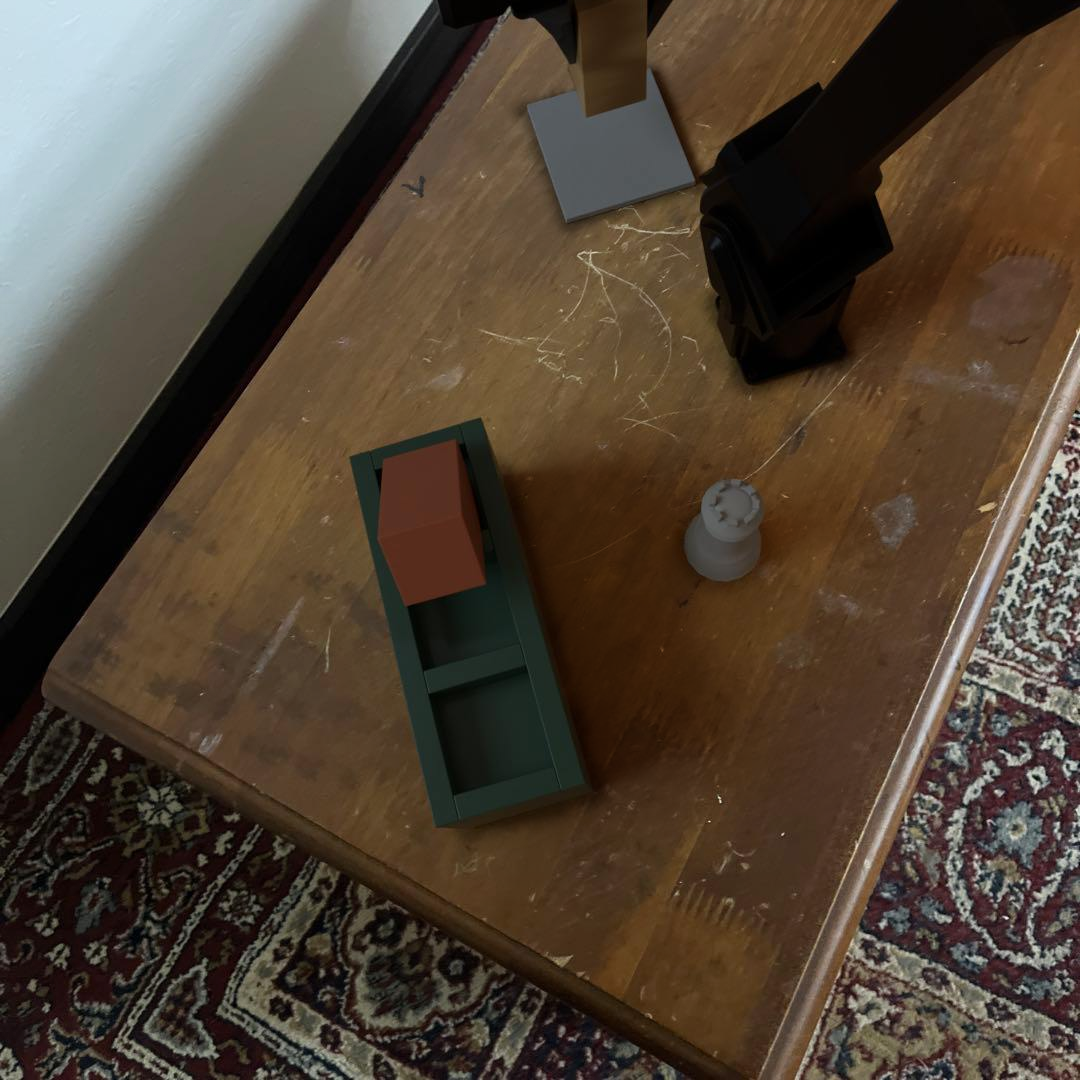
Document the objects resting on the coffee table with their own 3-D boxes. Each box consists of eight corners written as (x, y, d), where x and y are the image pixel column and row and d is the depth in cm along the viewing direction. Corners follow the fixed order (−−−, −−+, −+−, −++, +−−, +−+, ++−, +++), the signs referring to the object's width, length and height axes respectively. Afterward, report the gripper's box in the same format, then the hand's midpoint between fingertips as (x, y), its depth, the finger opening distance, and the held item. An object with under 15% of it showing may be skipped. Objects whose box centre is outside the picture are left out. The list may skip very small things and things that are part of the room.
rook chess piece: (768, 523, 57) (789, 474, 49) (748, 593, 55) (766, 554, 48) (695, 502, 57) (704, 451, 50) (673, 571, 56) (679, 529, 49)
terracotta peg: (456, 438, 50) (462, 514, 43) (478, 502, 52) (487, 584, 45) (382, 458, 50) (376, 538, 43) (407, 522, 52) (405, 607, 45)
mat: (649, 72, 67) (650, 67, 67) (695, 185, 64) (695, 180, 64) (527, 109, 67) (526, 104, 67) (566, 224, 64) (566, 219, 64)
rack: (502, 474, 59) (480, 416, 51) (593, 792, 53) (585, 783, 45) (387, 508, 59) (348, 456, 51) (465, 829, 53) (434, 828, 45)
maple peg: (628, 52, 61) (626, -61, 53) (646, 100, 60) (647, -9, 52) (567, 70, 61) (557, -40, 53) (585, 118, 60) (577, 13, 52)
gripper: (735, -398, 45) (711, -91, 60) (356, -283, 45) (426, -5, 60) (819, -245, 42) (772, 41, 56) (409, -120, 42) (469, 132, 57)
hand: (605, 47), depth 57 cm, fingers closed on maple peg, 4 cm apart
